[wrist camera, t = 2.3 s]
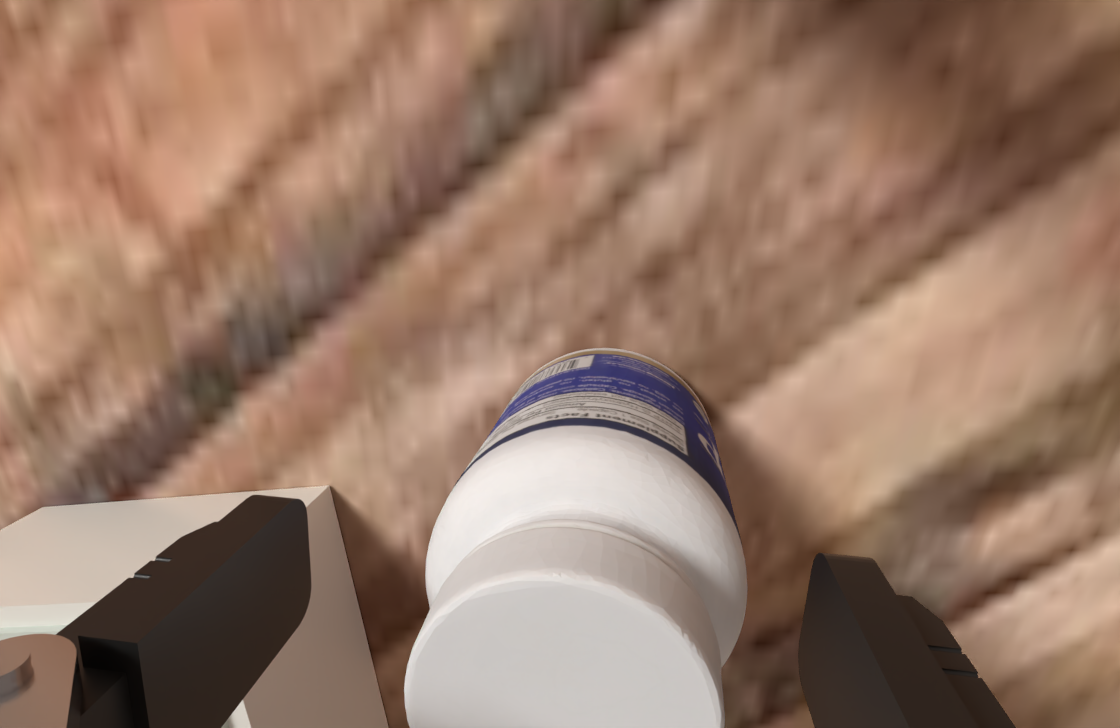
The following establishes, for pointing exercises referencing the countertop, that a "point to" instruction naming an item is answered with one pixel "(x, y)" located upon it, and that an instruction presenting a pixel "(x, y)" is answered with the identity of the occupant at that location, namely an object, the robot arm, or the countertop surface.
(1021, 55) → the countertop surface
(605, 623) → the pill bottle
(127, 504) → the pedestal
